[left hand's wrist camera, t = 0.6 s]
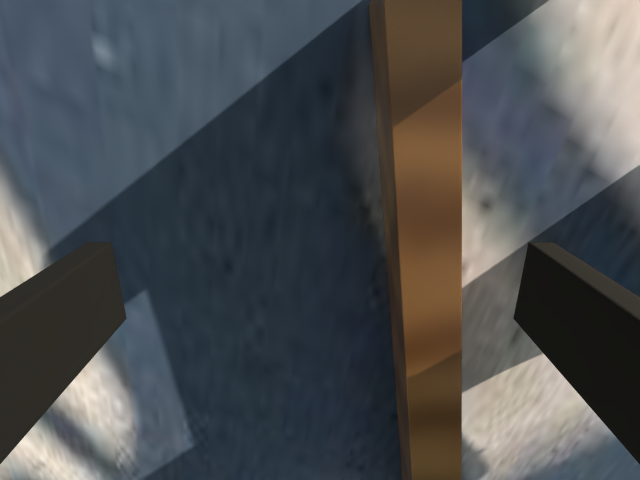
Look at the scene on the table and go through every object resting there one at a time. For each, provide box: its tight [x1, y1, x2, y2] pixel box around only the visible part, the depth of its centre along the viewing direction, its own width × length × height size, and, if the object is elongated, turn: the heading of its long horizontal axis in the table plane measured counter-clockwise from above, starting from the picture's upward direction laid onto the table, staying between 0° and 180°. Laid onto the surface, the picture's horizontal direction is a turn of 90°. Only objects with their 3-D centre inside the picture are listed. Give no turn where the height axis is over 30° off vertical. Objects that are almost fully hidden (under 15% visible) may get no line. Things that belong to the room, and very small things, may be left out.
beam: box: [369, 0, 462, 480], centre depth 36 cm, size 53×5×8 cm, turn 7°
